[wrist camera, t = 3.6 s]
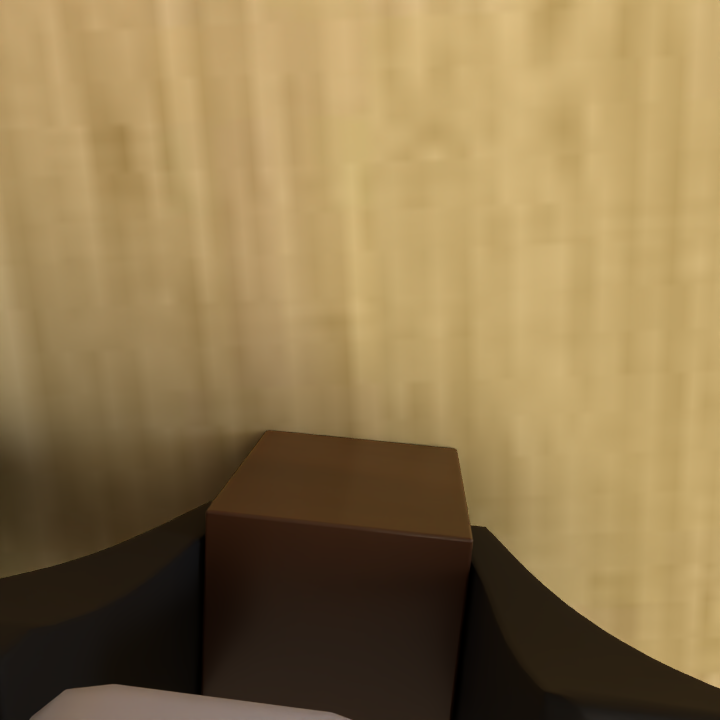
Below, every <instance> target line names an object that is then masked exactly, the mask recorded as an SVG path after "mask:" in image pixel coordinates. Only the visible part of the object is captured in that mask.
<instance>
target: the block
mask: <svg viewBox="0 0 720 720" xmlns="http://www.w3.org/2000/svg"><path fill="white" fill-rule="evenodd" d="M472 549H473V537H472V531H471V526H470V520H469V514H468V509H467V503H466V498H465V492H464V487H463V481H462V475H461V470H460V464H459V459H458V453H457V450H456V449H452V448H442V447H432V446H422V445H412V444H402V443H392V442H381V441H371V440H361V439H351V438H341V437H331V436H321V435H311V434H301V433H291V432H281V431H271V430H268V431H266V432H265V433H264V435H263V436H262V437H261V439H260V440H259V441H258V443H257V444H256V445H255V447H254V448H253V449H252V451H251V452H250V453H249V455H248V456H247V457H246V459H245V460H244V461H243V463H242V464H241V465H240V467H239V468H238V469H237V471H236V472H235V473H234V475H233V476H232V477H231V479H230V480H229V481H228V482H227V484H226V485H225V486H224V488H223V489H222V490H221V492H220V493H219V494H218V496H217V497H216V498H215V500H214V501H213V502H212V504H211V505H210V506H209V508H208V509H207V511H206V519H205V557H204V595H203V633H202V671H201V695H202V696H210V697H217V698H225V699H233V700H240V701H248V702H256V703H263V704H271V705H279V706H286V707H294V708H302V709H309V710H317V711H325V712H332V713H335V714H337V715H340V716H343V717H346V718H348V719H351V720H452V716H453V708H454V699H455V691H456V683H457V674H458V666H459V657H460V649H461V641H462V632H463V624H464V616H465V607H466V599H467V590H468V582H469V574H470V565H471V557H472Z"/></svg>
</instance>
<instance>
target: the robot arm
mask: <svg viewBox="0 0 720 720" xmlns="http://www.w3.org/2000/svg"><path fill="white" fill-rule="evenodd" d="M213 501H214V500H213ZM213 501H211V502H208V503H206V504H204V505H202V506H200V507H198V508H195V509H193V510H191V511H189V512H187V513H185V514H183V515H181V516H179V517H177V518H175V519H173V520H171V521H169V522H167V523H165V524H163V525H161V526H159V527H156V528H154V529H152V530H150V531H148V532H145V533H143V534H141V535H138V536H136V537H134V538H131V539H129V540H127V541H124V542H122V543H120V544H117V545H115V546H113V547H110V548H107V549H105V550H102V551H99V552H97V553H94V554H91V555H88V556H85V557H82V558H79V559H76V560H72V561H69V562H66V563H63V564H59V565H56V566H52V567H48V568H44V569H40V570H35V571H31V572H27V573H23V574H19V575H15V576H10V577H6V578H1V579H0V720H351V719H348V718H346V717H343V716H340V715H337V714H335V713H332V712H325V711H317V710H309V709H302V708H294V707H286V706H279V705H271V704H263V703H256V702H248V701H240V700H233V699H225V698H217V697H210V696H202V695H201V671H202V633H203V595H204V557H205V519H206V511H207V509H208V508H209V506H210V505H211V504H212V502H213ZM470 526H471V525H470ZM471 531H472V537H473V549H472V557H471V565H470V574H469V582H468V590H467V599H466V607H465V616H464V624H463V632H462V641H461V649H460V657H459V666H458V674H457V683H456V691H455V699H454V708H453V716H452V720H720V689H719V688H717V687H714V686H712V685H709V684H707V683H705V682H703V681H700V680H698V679H696V678H694V677H691V676H689V675H687V674H684V673H682V672H680V671H678V670H675V669H673V668H671V667H669V666H667V665H665V664H663V663H661V662H659V661H657V660H655V659H653V658H651V657H649V656H647V655H645V654H644V653H642V652H640V651H638V650H636V649H635V648H633V647H631V646H629V645H628V644H626V643H624V642H622V641H620V640H619V639H617V638H615V637H614V636H612V635H610V634H609V633H607V632H606V631H604V630H602V629H601V628H599V627H598V626H597V625H595V624H594V623H592V622H591V621H589V620H588V619H586V618H585V617H584V616H582V615H581V614H579V613H578V612H576V611H575V610H574V609H572V608H571V607H570V606H568V605H567V604H566V603H565V602H563V601H562V600H561V599H560V598H559V597H557V596H556V595H555V594H554V593H553V592H551V591H550V590H549V589H548V588H547V587H546V586H544V585H543V584H542V583H541V582H540V581H539V580H538V579H537V578H536V577H534V576H533V575H532V574H531V573H530V572H529V571H528V570H527V569H526V568H525V567H524V566H523V565H522V564H521V563H520V562H519V561H518V560H517V559H516V558H515V557H514V556H513V555H512V554H511V553H510V552H509V551H508V550H507V549H506V548H505V547H504V546H503V544H502V543H501V542H500V541H499V540H498V539H497V538H496V537H495V536H494V535H493V534H492V533H491V532H490V531H489V530H488V529H487V528H486V527H480V526H471Z"/></svg>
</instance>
